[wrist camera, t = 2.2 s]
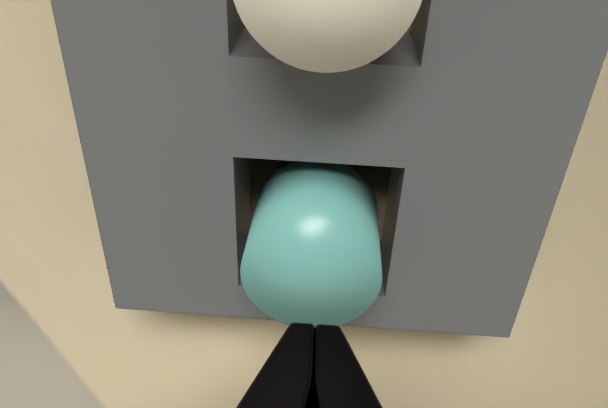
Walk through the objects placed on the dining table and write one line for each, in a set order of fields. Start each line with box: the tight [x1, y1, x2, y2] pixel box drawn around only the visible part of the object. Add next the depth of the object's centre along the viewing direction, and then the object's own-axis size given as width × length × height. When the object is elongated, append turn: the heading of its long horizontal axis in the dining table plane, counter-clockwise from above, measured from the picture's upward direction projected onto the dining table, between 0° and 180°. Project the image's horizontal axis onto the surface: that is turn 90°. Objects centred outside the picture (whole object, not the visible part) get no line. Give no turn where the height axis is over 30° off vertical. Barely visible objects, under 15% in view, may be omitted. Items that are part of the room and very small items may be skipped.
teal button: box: [240, 161, 382, 327], centre depth 17 cm, size 4×4×3 cm
